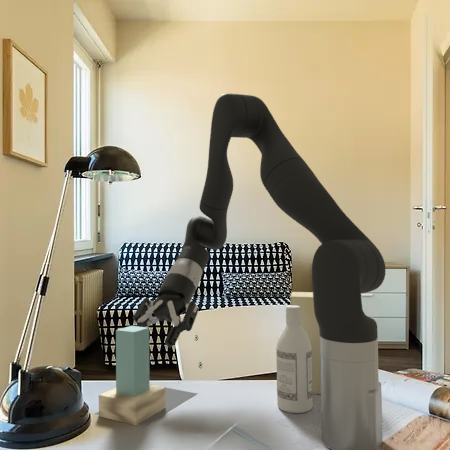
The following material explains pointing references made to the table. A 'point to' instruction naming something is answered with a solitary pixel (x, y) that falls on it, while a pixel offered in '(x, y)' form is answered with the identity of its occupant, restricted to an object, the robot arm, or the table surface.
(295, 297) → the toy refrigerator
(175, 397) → the mat
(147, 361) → the pillar
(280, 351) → the bath foam
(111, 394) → the base block
